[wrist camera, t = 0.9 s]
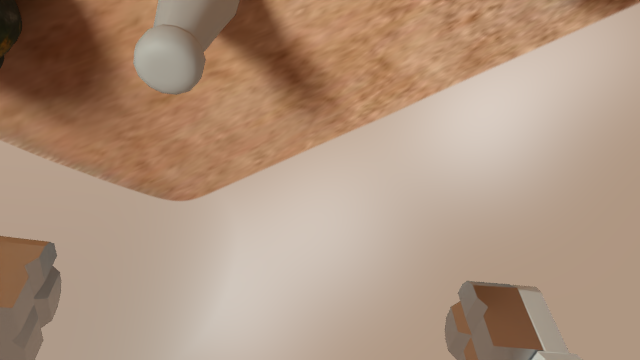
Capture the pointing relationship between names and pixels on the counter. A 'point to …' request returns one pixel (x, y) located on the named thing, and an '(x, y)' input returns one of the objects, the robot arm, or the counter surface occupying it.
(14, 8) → the squash
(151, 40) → the salt shaker
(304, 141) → the counter surface
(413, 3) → the counter surface
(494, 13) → the counter surface
